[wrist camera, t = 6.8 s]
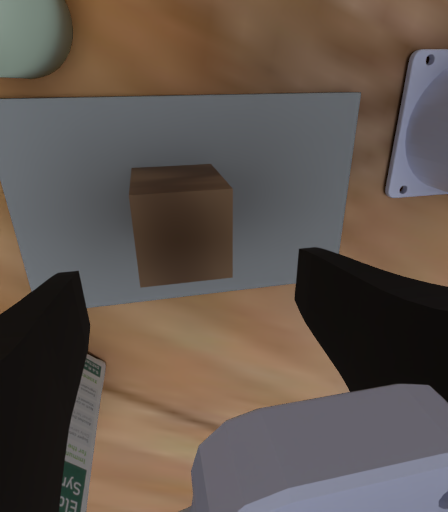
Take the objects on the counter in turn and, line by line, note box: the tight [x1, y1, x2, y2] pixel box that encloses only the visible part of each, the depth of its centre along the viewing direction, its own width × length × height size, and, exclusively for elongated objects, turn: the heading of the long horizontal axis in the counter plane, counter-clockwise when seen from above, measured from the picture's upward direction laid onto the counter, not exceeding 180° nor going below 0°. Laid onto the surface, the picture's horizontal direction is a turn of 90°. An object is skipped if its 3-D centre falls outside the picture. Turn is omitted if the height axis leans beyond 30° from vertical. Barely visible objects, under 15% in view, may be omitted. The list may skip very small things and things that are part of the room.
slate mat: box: [0, 92, 361, 308], centre depth 20 cm, size 18×11×1 cm, turn 90°
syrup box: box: [59, 354, 106, 512], centre depth 17 cm, size 6×6×14 cm
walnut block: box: [129, 164, 233, 288], centre depth 17 cm, size 4×4×5 cm
